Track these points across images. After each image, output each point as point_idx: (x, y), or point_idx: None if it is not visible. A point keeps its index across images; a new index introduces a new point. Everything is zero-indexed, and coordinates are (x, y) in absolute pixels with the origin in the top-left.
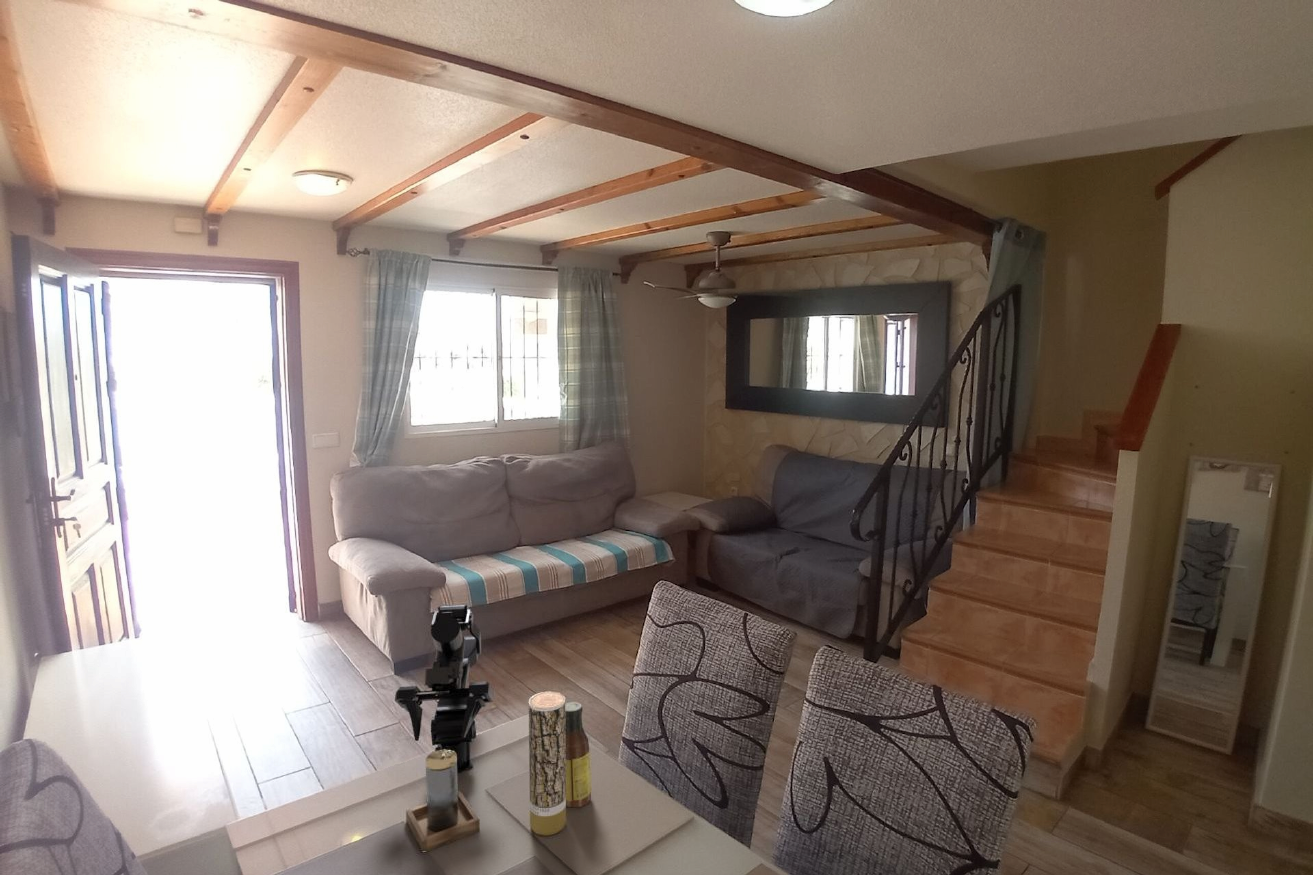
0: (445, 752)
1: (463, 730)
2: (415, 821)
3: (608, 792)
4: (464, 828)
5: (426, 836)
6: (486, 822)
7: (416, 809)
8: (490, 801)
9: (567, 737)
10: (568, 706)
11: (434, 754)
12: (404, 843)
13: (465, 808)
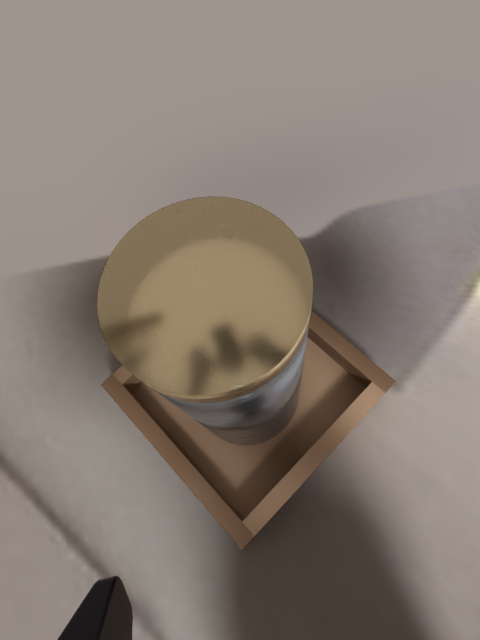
0: (202, 354)
1: (88, 621)
2: (321, 332)
3: None
4: None
5: None
6: (106, 435)
7: (359, 395)
8: (126, 565)
9: None
10: None
11: (271, 309)
12: (324, 295)
13: (180, 449)
